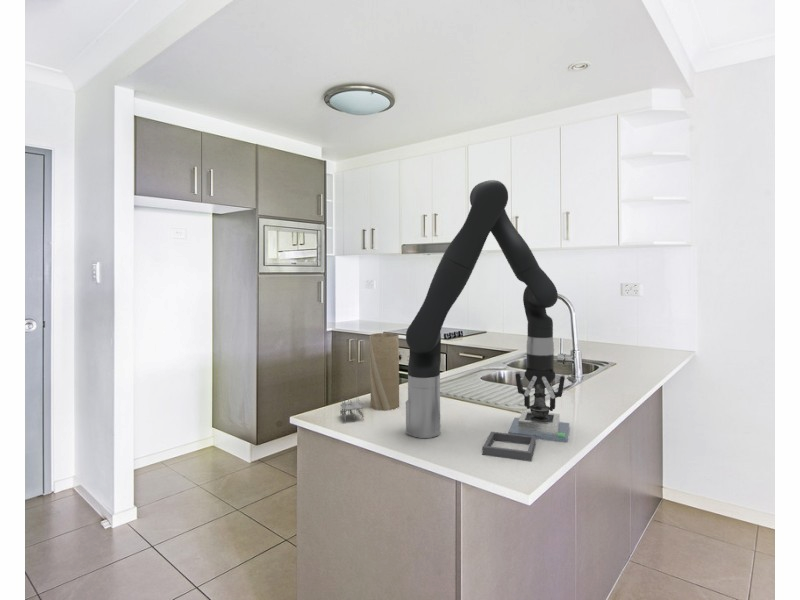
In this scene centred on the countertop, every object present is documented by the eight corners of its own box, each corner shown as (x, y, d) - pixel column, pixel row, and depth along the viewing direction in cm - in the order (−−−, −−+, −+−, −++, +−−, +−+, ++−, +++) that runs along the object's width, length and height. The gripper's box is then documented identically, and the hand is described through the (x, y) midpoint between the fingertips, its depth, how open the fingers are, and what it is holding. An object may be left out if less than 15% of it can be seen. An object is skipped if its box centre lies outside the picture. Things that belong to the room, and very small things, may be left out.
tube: (381, 412, 156) (380, 337, 154) (365, 405, 164) (364, 334, 163) (405, 406, 162) (404, 335, 160) (388, 400, 170) (387, 332, 168)
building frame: (344, 423, 145) (344, 405, 145) (339, 416, 153) (338, 398, 152) (364, 421, 147) (363, 402, 147) (357, 414, 155) (357, 396, 154)
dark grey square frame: (482, 454, 119) (482, 446, 119) (491, 438, 131) (491, 431, 130) (531, 461, 115) (531, 453, 115) (535, 443, 126) (535, 436, 126)
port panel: (507, 435, 133) (508, 421, 133) (514, 420, 146) (514, 407, 146) (567, 442, 127) (567, 428, 127) (569, 426, 140) (569, 413, 140)
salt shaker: (546, 416, 139) (546, 376, 138) (553, 422, 133) (553, 381, 132) (526, 416, 139) (526, 376, 138) (532, 423, 133) (532, 381, 132)
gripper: (512, 352, 134) (512, 410, 135) (565, 355, 129) (565, 415, 130) (516, 348, 141) (516, 403, 142) (567, 351, 136) (566, 408, 137)
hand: (539, 409), depth 136 cm, fingers closed on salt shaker, 6 cm apart
